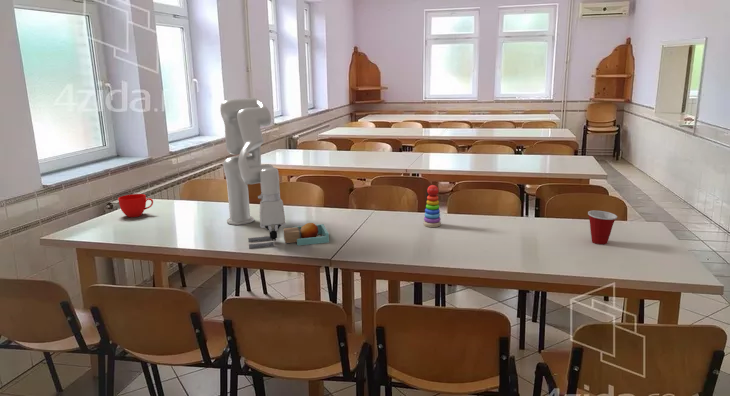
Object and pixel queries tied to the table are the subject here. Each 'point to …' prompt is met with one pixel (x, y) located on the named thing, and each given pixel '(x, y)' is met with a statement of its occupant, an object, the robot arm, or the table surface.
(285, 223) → the robot arm
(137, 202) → the ceramic cup
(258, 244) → the launcher track
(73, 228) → the table surface
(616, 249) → the table surface
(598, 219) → the plastic cup
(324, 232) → the teal u-shaped frame
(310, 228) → the fruit
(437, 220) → the stacking toy
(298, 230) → the block
